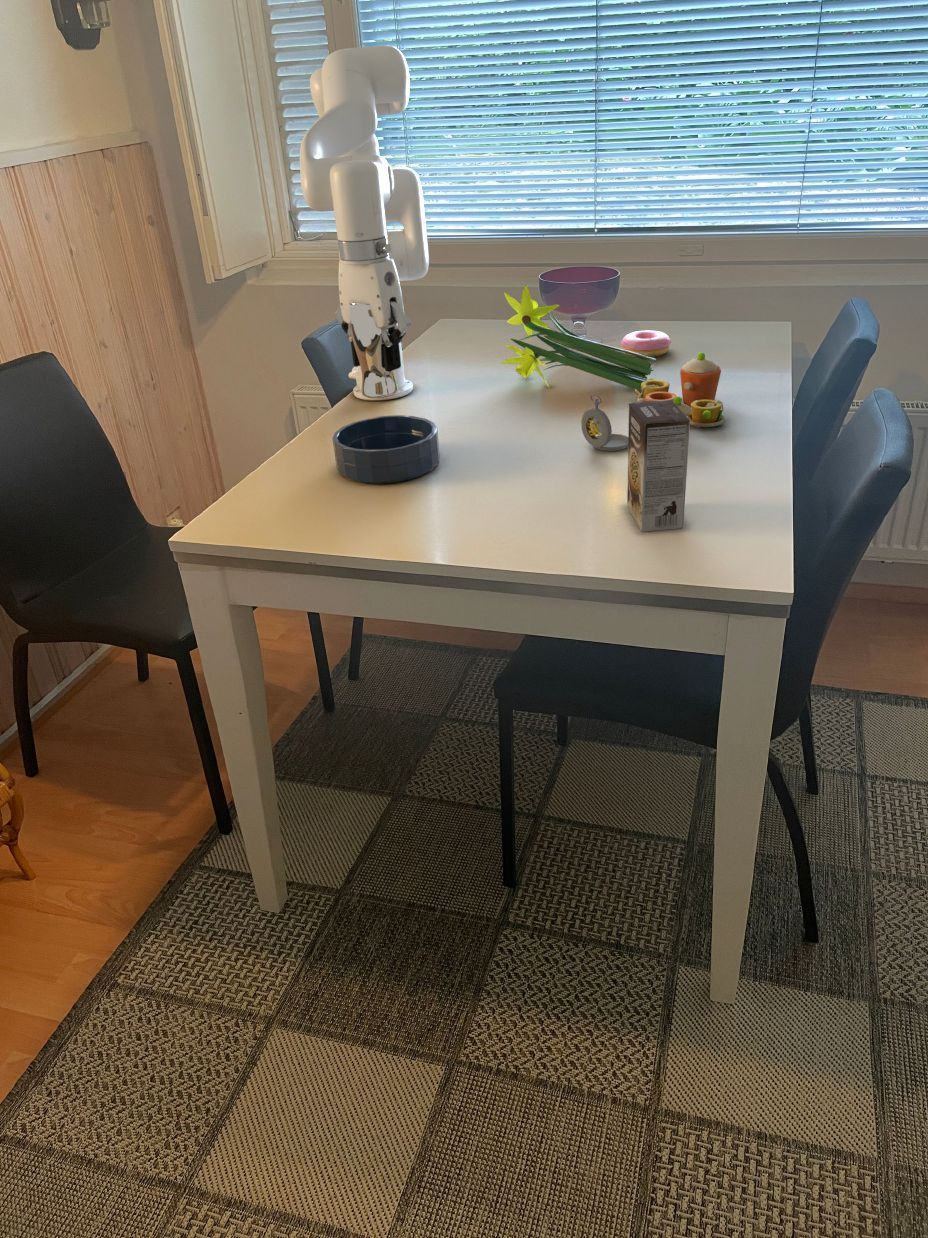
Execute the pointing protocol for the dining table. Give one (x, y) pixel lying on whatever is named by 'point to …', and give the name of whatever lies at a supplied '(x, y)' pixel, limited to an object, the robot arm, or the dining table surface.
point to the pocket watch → (601, 430)
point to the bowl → (386, 449)
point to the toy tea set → (691, 392)
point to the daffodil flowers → (528, 358)
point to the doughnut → (646, 343)
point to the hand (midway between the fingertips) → (377, 365)
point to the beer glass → (370, 352)
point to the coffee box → (657, 464)
